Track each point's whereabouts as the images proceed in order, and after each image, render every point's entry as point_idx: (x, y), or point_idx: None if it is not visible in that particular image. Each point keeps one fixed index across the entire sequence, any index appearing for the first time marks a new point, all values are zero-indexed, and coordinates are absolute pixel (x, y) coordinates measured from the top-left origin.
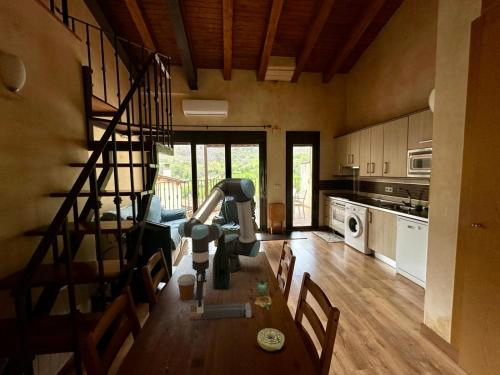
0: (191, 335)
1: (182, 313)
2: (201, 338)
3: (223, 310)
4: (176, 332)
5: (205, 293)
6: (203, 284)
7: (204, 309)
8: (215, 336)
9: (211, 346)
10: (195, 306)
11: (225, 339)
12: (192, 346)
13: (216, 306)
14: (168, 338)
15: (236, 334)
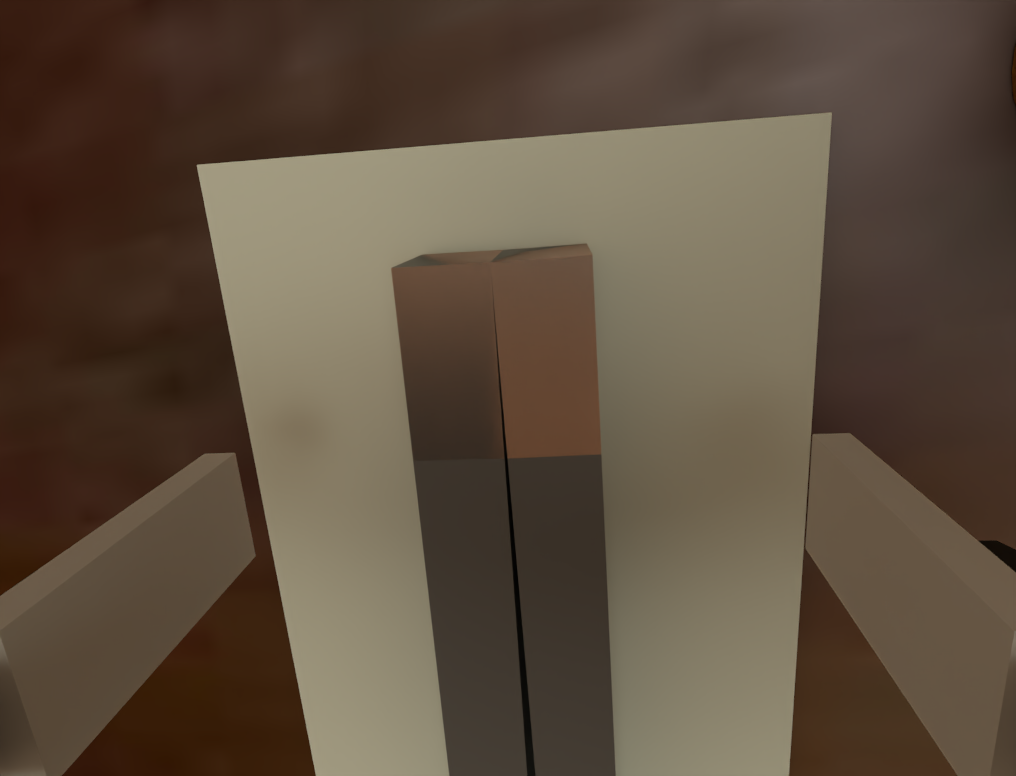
0: (178, 327)
1: (666, 77)
2: (144, 450)
3: (449, 768)
4: (210, 108)
5: (828, 581)
6: (966, 727)
7: (475, 512)
8: None
9: (49, 559)
10: (574, 347)
11: (163, 679)
12: (12, 371)
13: (555, 681)
14: (84, 24)
15: (244, 771)
